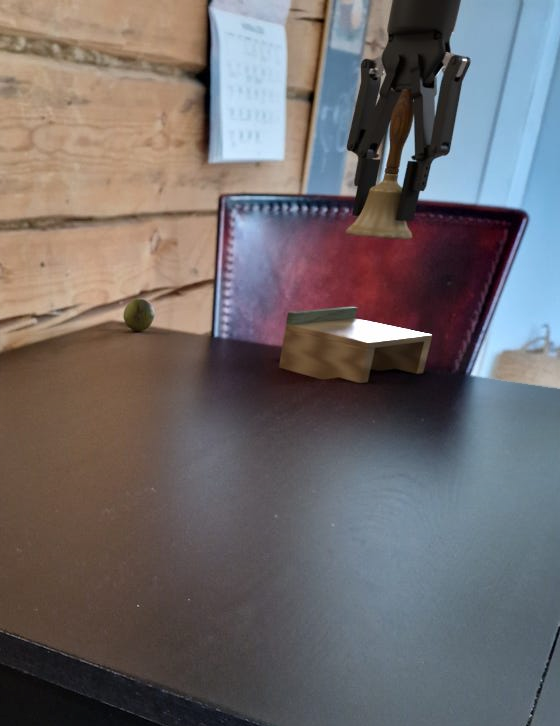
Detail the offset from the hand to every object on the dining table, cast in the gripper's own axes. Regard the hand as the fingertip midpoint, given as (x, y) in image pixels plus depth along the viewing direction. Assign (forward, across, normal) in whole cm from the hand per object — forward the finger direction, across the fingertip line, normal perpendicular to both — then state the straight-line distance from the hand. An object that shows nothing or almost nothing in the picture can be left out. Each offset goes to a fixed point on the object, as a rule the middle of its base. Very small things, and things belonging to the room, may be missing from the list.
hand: (382, 217), depth 110 cm
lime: (+20, -37, -8) cm, 43 cm away
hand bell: (+2, 0, 0) cm, 2 cm away
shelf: (+20, -1, +1) cm, 20 cm away
